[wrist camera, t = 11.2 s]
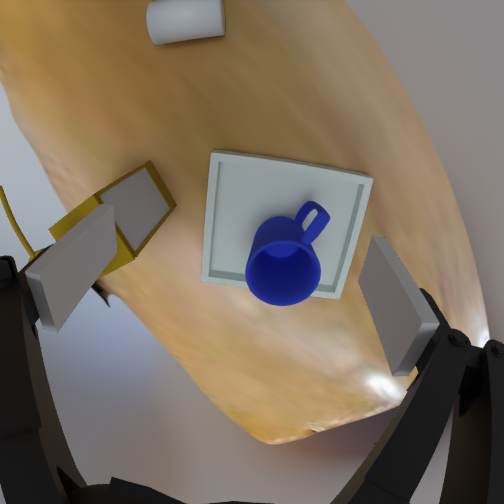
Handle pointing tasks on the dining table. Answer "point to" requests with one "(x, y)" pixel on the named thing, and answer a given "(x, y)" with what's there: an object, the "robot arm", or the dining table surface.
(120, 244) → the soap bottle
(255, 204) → the tray
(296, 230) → the mug
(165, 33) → the white cylinder
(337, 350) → the dining table surface
